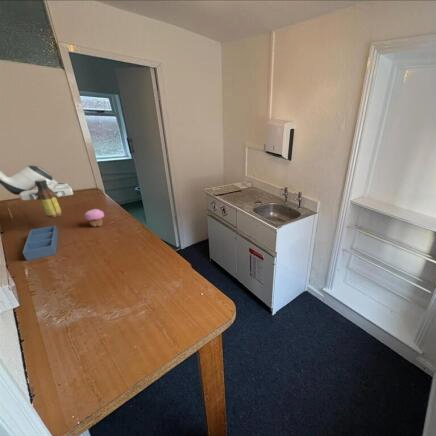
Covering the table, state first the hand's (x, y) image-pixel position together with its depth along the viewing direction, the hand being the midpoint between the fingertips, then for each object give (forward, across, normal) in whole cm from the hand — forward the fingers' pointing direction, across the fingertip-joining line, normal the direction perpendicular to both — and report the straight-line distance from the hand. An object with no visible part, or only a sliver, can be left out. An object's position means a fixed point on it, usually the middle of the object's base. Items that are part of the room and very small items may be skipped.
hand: (46, 197), depth 121 cm
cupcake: (+3, +16, +20) cm, 26 cm away
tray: (+16, -5, +20) cm, 26 cm away
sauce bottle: (-1, 0, +11) cm, 11 cm away
